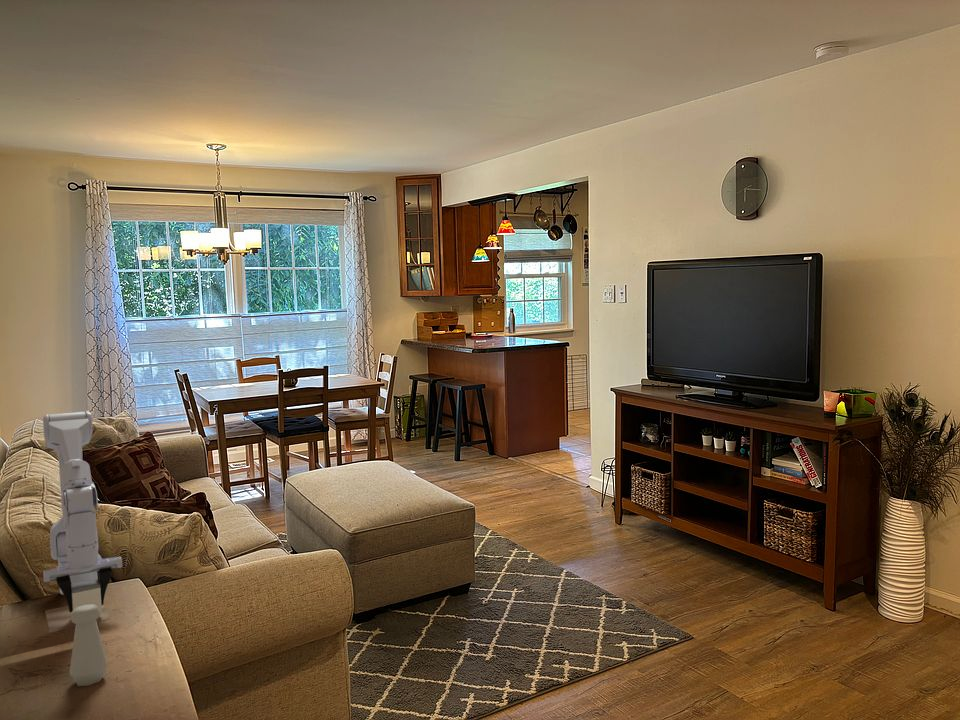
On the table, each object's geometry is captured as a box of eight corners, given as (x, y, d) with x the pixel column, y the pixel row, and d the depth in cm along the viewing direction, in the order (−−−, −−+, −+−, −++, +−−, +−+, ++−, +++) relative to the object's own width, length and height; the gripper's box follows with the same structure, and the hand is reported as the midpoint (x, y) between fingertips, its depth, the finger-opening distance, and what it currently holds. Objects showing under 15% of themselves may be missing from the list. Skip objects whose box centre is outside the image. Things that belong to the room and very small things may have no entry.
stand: (45, 616, 159) (43, 593, 159) (101, 603, 165) (99, 582, 165) (50, 638, 146) (48, 614, 146) (110, 624, 152) (109, 601, 152)
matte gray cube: (71, 612, 154) (69, 584, 154) (99, 606, 157) (97, 578, 156) (73, 619, 149) (72, 590, 149) (102, 613, 152) (100, 584, 152)
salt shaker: (96, 688, 123) (91, 612, 122) (63, 689, 123) (58, 613, 123) (114, 672, 129) (110, 600, 128) (82, 673, 129) (78, 601, 128)
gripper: (43, 554, 145) (47, 621, 146) (122, 541, 153) (126, 604, 154) (41, 547, 151) (45, 611, 152) (118, 534, 159) (121, 595, 160)
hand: (86, 607), depth 153 cm, fingers closed on matte gray cube, 5 cm apart
